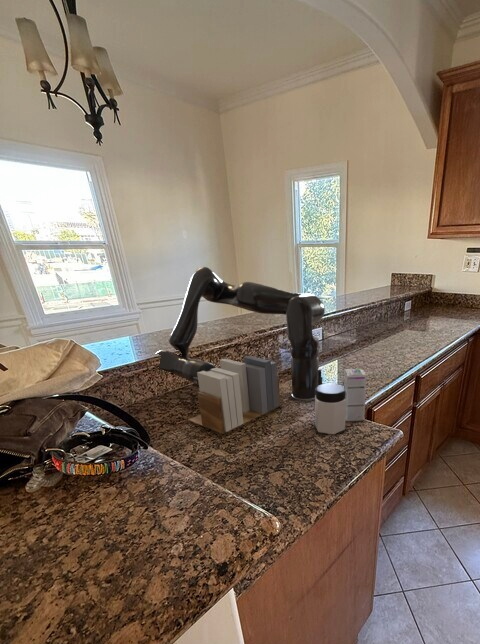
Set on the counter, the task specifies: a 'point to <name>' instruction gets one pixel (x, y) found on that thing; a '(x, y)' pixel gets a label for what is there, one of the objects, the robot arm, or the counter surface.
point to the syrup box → (355, 394)
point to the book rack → (219, 412)
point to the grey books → (261, 384)
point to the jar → (330, 408)
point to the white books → (224, 394)
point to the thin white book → (241, 370)
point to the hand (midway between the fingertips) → (233, 382)
